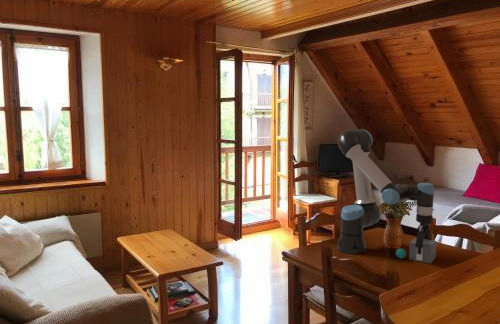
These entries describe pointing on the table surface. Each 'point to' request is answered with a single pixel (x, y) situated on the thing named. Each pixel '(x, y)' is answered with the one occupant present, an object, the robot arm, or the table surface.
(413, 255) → the dark grey block
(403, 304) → the table surface
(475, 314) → the table surface
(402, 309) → the table surface
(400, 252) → the ball
